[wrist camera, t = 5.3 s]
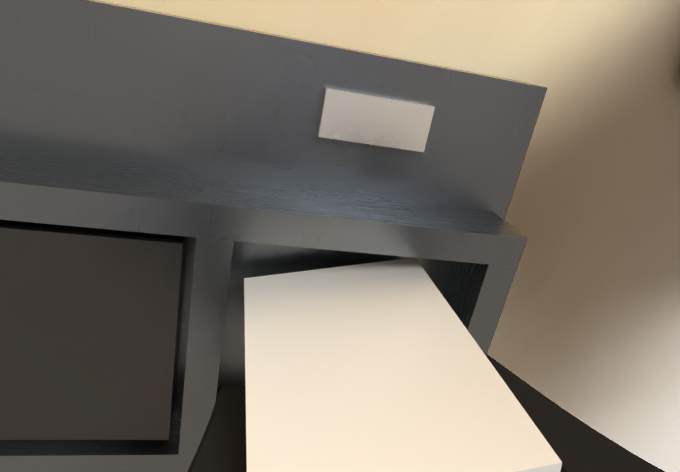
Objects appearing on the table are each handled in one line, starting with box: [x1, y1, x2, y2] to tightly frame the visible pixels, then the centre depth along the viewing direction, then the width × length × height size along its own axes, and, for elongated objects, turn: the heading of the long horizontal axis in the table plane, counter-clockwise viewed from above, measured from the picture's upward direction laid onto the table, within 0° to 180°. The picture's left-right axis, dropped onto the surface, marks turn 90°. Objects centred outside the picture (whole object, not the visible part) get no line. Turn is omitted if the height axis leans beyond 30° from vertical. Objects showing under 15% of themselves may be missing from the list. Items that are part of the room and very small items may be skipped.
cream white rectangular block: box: [244, 258, 562, 472], centre depth 9 cm, size 4×4×7 cm
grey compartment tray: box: [0, 0, 547, 472], centre depth 11 cm, size 20×13×3 cm, turn 79°
